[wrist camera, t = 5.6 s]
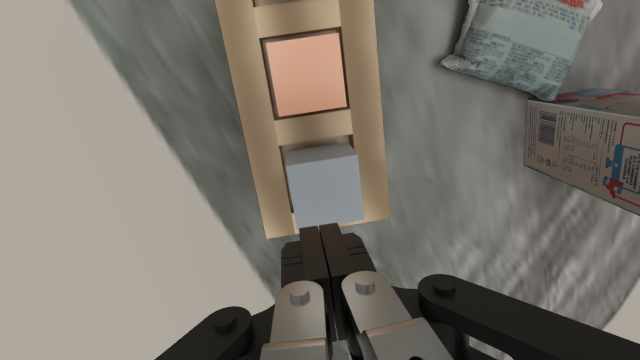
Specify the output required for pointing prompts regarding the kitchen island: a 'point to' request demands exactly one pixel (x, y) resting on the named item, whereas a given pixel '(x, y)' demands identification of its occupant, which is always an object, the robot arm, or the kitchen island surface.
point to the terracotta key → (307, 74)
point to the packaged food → (522, 42)
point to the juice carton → (588, 143)
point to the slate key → (325, 185)
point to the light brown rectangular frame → (313, 127)
